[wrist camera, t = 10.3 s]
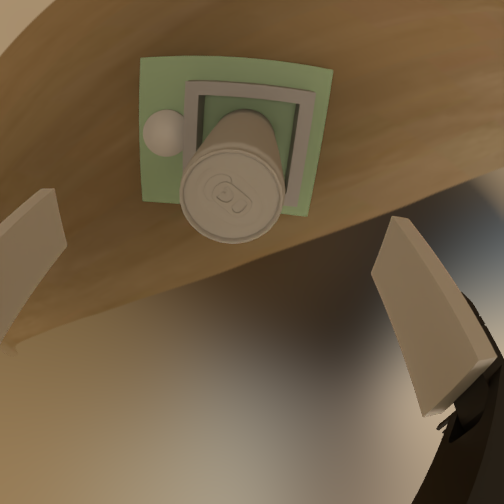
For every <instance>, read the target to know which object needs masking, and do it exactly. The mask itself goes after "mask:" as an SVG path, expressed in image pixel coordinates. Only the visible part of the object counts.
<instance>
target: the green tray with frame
mask: <svg viewBox="0 0 504 504" xmlns="http://www.w3.org/2000/svg"><path fill="white" fill-rule="evenodd" d="M332 76H333V70H330V69H325V68H320V67H315V66H309V65H303V64H296V63H289V62H282V61H274V60H265V59H255V58H242V57H225V56H164V57H147V58H141V59H140V83H139V144H140V169H141V186H142V200H143V201H146V202H161V203H174V204H180V196H179V189H180V182H181V179H182V175H183V172H184V169H185V168H186V166H187V165H188V163H189V161H190V160H191V158H192V157H193V155H194V154H195V153H196V151H197V150H198V149H199V147H200V146H201V144H202V143H203V142H204V140H205V139H206V138H207V136H208V135H209V134H210V133H211V131H212V130H213V129H214V127H215V126H216V125H217V123H218V122H219V121H220V120H221V118H223V117H224V116H225V115H226V114H228V113H230V112H232V111H234V110H239V109H252V110H255V111H258V112H260V113H261V114H263V115H264V116H266V117H267V119H268V120H269V121H270V123H271V125H272V127H273V130H274V134H275V138H276V142H277V146H278V150H279V154H280V160H281V165H282V171H283V176H284V183H285V190H286V192H285V199H284V205H283V207H282V211H281V213H280V214H289V215H297V216H306V217H307V216H308V211H309V206H310V201H311V196H312V191H313V186H314V181H315V176H316V171H317V165H318V160H319V155H320V149H321V144H322V138H323V132H324V126H325V120H326V115H327V108H328V102H329V96H330V90H331V83H332Z"/></svg>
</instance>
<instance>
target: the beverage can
mask: <svg viewBox="0 0 504 504" xmlns="http://www.w3.org/2000/svg"><path fill="white" fill-rule="evenodd" d="M285 192H286V190H285V183H284V176H283V171H282V165H281V160H280V154H279V150H278V146H277V142H276V138H275V134H274V130H273V127H272V125H271V123H270V121H269V120H268V119H267V117H266V116H264V115H263V114H261V113H260V112H258V111H255V110H252V109H239V110H234V111H232V112H230V113H228V114H226V115H225V116H224V117H223V118H221V120H220V121H219V122H218V123H217V125H216V126H215V127H214V129H213V130H212V131H211V133H210V134H209V135H208V136H207V138H206V139H205V140H204V142H203V143H202V144H201V146H200V147H199V149H198V150H197V151H196V153H195V154H194V155H193V157H192V158H191V160H190V161H189V163H188V165H187V166H186V168H185V169H184V172H183V175H182V179H181V182H180V189H179V196H180V205H181V208H182V211H183V214H184V216H185V217H186V219H187V220H188V222H189V223H190V225H191V226H192V227H194V228H195V229H196V230H197V231H198V232H199V233H200V234H202V235H204V236H206V237H207V238H209V239H212V240H215V241H218V242H221V243H230V244H237V243H245V242H249V241H251V240H254V239H257V238H259V237H260V236H262V235H263V234H265V233H266V232H268V231H269V230H270V229H271V228H272V226H273V225H274V224H275V223H276V222H277V220H278V218H279V215H280V213H281V211H282V207H283V205H284V199H285Z"/></svg>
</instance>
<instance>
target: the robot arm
mask: <svg viewBox="0 0 504 504" xmlns="http://www.w3.org/2000/svg"><path fill="white" fill-rule="evenodd" d="M66 247H67V242H66V238H65V234H64V230H63V226H62V222H61V217H60V213H59V208H58V203H57V198H56V193H55V188H47V189H40V190H39V191H38V192H36V193H35V194H34V195H33V196H31V197H30V198H29V199H28V200H27V201H25V202H24V203H23V204H22V205H21V206H20V207H18V208H17V209H16V210H15V211H14V212H13V213H12V214H10V215H9V216H8V217H7V218H6V219H5V220H4V221H3V222H2V223H1V224H0V343H1V342H2V340H3V338H4V336H5V335H6V333H7V331H8V330H9V328H10V326H11V325H12V323H13V322H14V320H15V318H16V317H17V315H18V314H19V312H20V311H21V309H22V307H23V306H24V304H25V303H26V301H27V300H28V298H29V297H30V296H31V294H32V293H33V291H34V290H35V288H36V287H37V286H38V284H39V283H40V281H41V280H42V279H43V277H44V276H45V274H46V273H47V272H48V270H49V269H50V268H51V266H52V265H53V264H54V262H55V261H56V260H57V259H58V257H59V256H60V255H61V253H62V252H63V251H64V250H65V248H66ZM371 275H372V277H373V279H374V282H375V284H376V287H377V289H378V291H379V294H380V296H381V299H382V301H383V303H384V306H385V308H386V311H387V313H388V316H389V318H390V321H391V324H392V326H393V329H394V332H395V334H396V337H397V339H398V342H399V345H400V348H401V351H402V353H403V356H404V359H405V362H406V365H407V368H408V371H409V374H410V377H411V380H412V383H413V386H414V390H415V393H416V396H417V399H418V403H419V406H420V409H421V413H422V416H423V417H427V416H431V415H436V414H441V413H443V412H444V411H445V410H446V409H447V408H448V407H449V406H450V405H451V404H453V403H454V405H455V408H456V411H454V412H453V413H452V414H451V415H450V416H449V417H447V418H446V419H445V420H444V421H443V422H441V423H440V424H439V425H438V427H437V430H440V429H441V428H442V427H444V426H445V425H446V424H447V427H446V429H445V430H444V431H443V432H442V433H444V436H443V438H442V441H441V443H440V445H439V448H438V450H437V452H436V455H435V457H434V460H433V462H432V464H431V466H430V468H429V470H428V473H427V475H426V477H425V479H424V481H423V483H422V485H421V487H420V489H419V491H418V493H417V495H416V496H415V498H414V500H413V502H412V504H504V358H503V356H502V354H501V352H500V350H499V349H498V347H497V345H496V343H495V341H494V339H493V337H492V336H491V334H490V332H489V330H488V328H487V327H486V326H485V325H484V324H485V323H484V321H483V320H482V318H481V316H479V313H478V311H477V309H476V308H475V306H474V305H473V303H472V302H471V301H470V300H469V299H468V298H467V297H466V296H465V295H464V294H463V293H462V292H460V290H459V289H458V287H457V285H456V284H455V282H454V281H453V279H452V278H451V276H450V275H449V273H448V272H447V270H446V269H445V267H444V266H443V264H442V263H441V262H440V260H439V259H438V257H437V256H436V254H435V253H434V252H433V251H432V249H431V248H430V246H429V245H428V244H427V242H426V241H425V240H424V238H423V237H422V235H421V234H420V233H419V232H418V230H417V229H416V228H415V227H414V225H413V224H412V223H411V221H410V220H409V219H408V218H401V217H396V216H392V217H391V220H390V223H389V226H388V229H387V232H386V235H385V237H384V240H383V243H382V246H381V248H380V251H379V254H378V257H377V259H376V262H375V264H374V267H373V269H372V272H371Z"/></svg>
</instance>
